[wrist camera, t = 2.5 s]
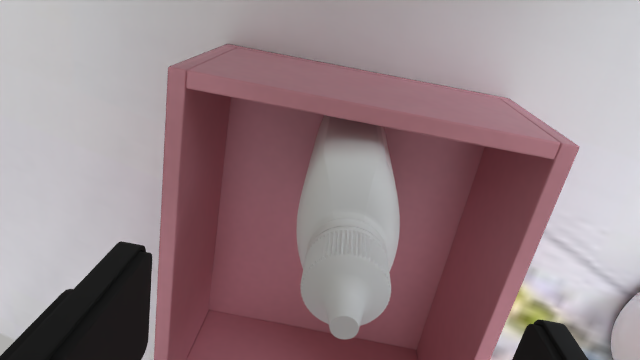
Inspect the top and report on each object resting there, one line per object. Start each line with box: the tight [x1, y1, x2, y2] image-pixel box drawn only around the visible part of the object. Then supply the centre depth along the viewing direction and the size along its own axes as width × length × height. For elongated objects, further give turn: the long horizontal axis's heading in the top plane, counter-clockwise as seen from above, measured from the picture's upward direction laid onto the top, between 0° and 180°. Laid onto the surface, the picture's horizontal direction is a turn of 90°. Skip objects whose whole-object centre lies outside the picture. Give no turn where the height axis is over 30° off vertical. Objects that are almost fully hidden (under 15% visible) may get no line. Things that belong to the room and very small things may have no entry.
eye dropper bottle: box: [296, 115, 400, 339], centre depth 16 cm, size 4×6×12 cm
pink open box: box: [154, 44, 579, 360], centre depth 21 cm, size 15×13×7 cm
